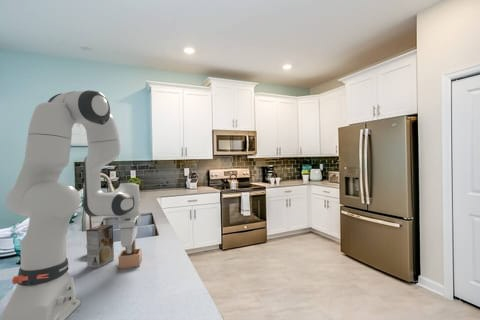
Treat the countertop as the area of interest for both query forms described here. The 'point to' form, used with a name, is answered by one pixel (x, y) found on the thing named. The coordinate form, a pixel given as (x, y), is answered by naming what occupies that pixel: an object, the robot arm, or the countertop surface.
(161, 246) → the countertop surface
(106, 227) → the coffee box
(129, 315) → the countertop surface
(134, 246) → the tan plain wooden block
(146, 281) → the countertop surface
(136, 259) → the peach cubby shelf
